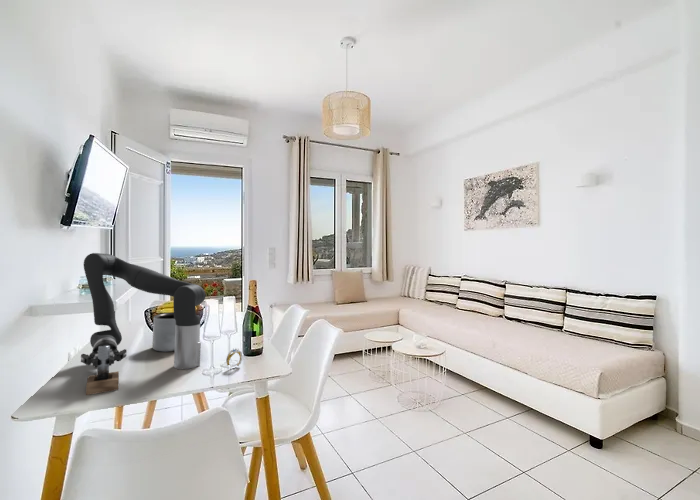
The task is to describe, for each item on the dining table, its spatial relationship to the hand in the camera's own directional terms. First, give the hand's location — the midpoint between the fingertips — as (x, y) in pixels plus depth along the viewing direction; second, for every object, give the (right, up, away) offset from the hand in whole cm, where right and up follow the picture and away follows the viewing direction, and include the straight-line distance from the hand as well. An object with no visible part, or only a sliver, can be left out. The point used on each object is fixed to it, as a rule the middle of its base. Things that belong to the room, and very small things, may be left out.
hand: (103, 363), depth 113 cm
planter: (-4, -9, +50) cm, 51 cm away
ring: (+35, -11, +25) cm, 45 cm away
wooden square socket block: (-2, -9, +2) cm, 9 cm away
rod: (-2, -7, +2) cm, 8 cm away
